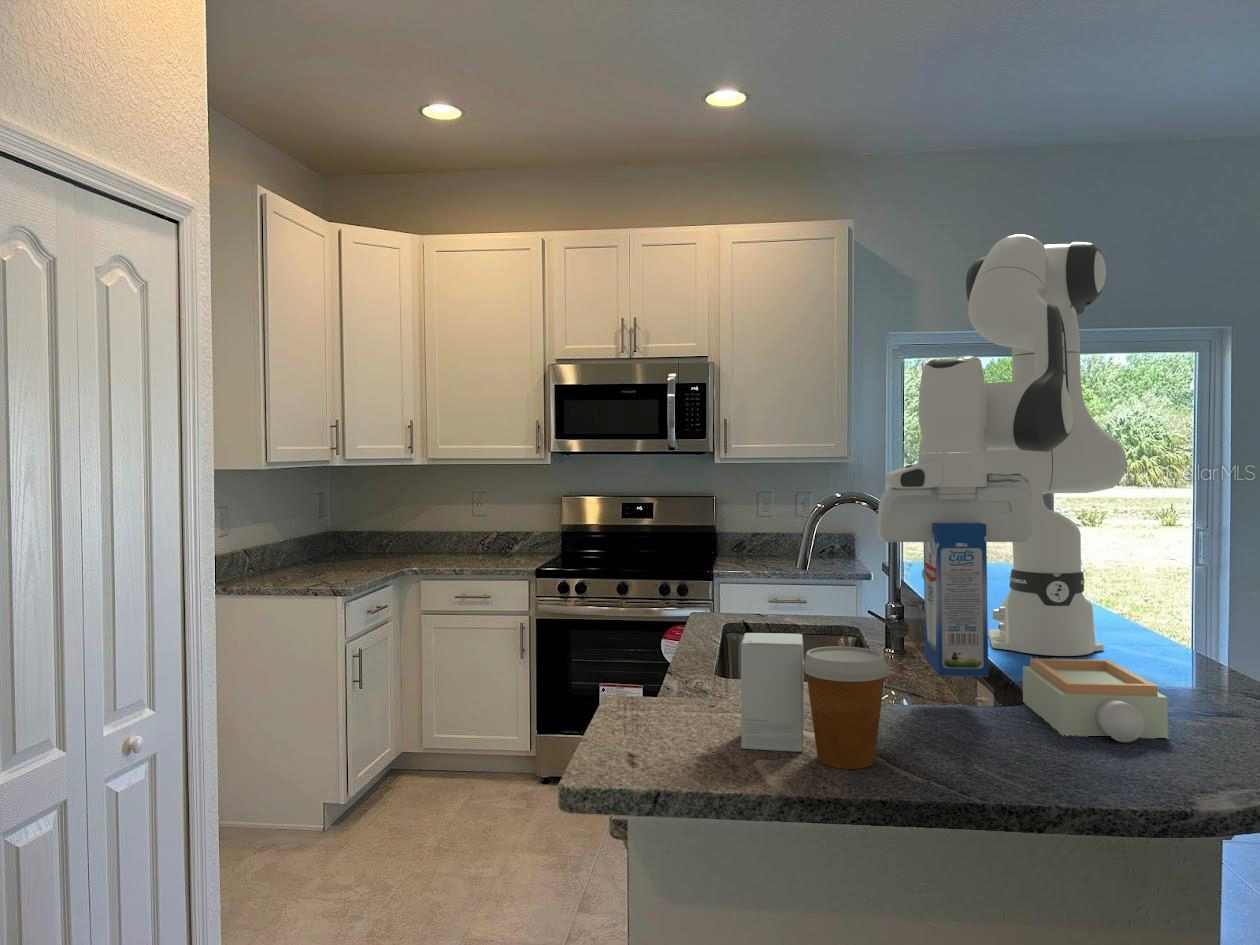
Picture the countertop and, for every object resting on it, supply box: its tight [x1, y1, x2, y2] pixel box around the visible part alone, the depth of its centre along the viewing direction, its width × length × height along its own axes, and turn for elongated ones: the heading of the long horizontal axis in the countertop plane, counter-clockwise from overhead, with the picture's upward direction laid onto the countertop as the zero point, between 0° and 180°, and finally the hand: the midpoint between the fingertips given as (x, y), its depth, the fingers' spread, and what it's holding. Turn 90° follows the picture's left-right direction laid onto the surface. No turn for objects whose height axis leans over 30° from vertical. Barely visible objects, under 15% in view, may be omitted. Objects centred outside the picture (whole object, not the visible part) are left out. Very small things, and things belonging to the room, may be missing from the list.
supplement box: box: [740, 632, 805, 753], centre depth 107 cm, size 7×7×13 cm
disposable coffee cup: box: [802, 645, 890, 770], centre depth 100 cm, size 10×10×12 cm
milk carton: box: [923, 523, 989, 677], centre depth 122 cm, size 10×6×20 cm, turn 172°
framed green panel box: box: [1022, 658, 1169, 743], centre depth 114 cm, size 19×12×6 cm, turn 172°
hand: (953, 574), depth 122 cm, fingers closed on milk carton
